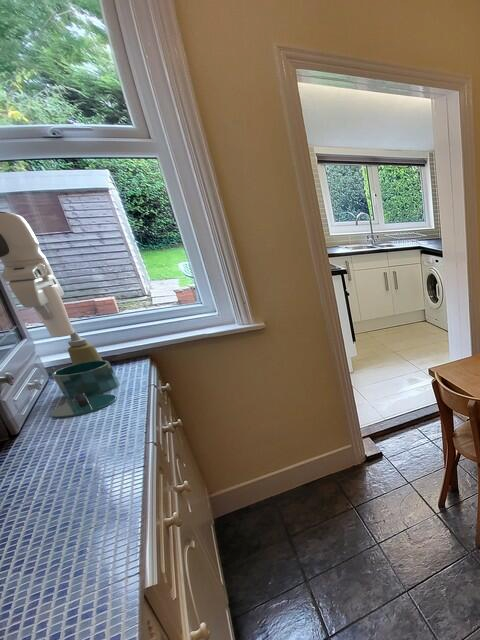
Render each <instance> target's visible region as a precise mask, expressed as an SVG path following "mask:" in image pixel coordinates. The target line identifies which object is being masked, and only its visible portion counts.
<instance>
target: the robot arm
mask: <svg viewBox="0 0 480 640" xmlns="http://www.w3.org/2000/svg"><path fill="white" fill-rule="evenodd" d="M0 261H1V263H2V265H3V271H2V272H1V278H2V279H3V281H4V282H8V286H9V288H10V290H11V291H12V293H13V295H14V296H15V298H16V299H17V301H18V303H19V304H20V305H21V306H22V307H23V308H26V309H31V308H33V307H35V309H36V310H37V311H38V312H39V313H40V314H41V315H42V317H43V319H44V320H49V319H52V318H53V316H52V313H50V312H49V311H48V309H47V306H46V304H47V303H49V302H50V300H49V298H48V296H47V294H46V292H45V290H44V289H42V287H49V285H55V287H56V288H57V290H58V292H59V294H60V296H61V298H63V297H64V296H65V292H64V290H63V288H62V285H61V284H60V282H59V281H58V278H57V277H56V276H55V275H54V274H55V273H54V270H53V268H52V267H51V265H50V263H49V261H48V258H47V256H46V255H45V254H44V253H43V251H42V250H41V248H40V243H39V240H38V238H37V236H36V235H35V233H34V231H33V229H32V228H31V226H30V224H29V223H28V221H26V219H25V218H24V217H23V216H21V215H20V214H17V213H14V212H12V211H10V212H9V211H2V210H0Z"/></svg>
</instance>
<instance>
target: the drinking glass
mask: <svg viewBox="0 0 480 640" xmlns="http://www.w3.org/2000/svg"><path fill="white" fill-rule="evenodd" d="M42 289H44V290H45V292H46V294H47V296H48V298H49V300H50V302H49V303H47V304H46V306H47V309H48V311H49V312H50V313H52V316H53V318H52V319H49V320H44V319H43V317H42V315H41V314H40V313H39V312H38V311H37V310H36V309H35V307H32V308H33V310H34V312H35V313H36V315H37V316H38V319H40V320H41V322H42V324H43V325H44V327H45V328H46V330H47V332H48V333H49V336H50V337H52V338H62V337H67V336H70V335H71V334H73V333H74V330H75V329H74V327H73V324H72V322H71V320H70V317H69V314H68V312H67V309H66V306H65V303H64V301H63V297H61V296H60V294H59V292H58V290H57V288H56V287H55V285H49V287H42Z"/></svg>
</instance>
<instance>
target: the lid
mask: <svg viewBox="0 0 480 640" xmlns="http://www.w3.org/2000/svg"><path fill="white" fill-rule="evenodd" d="M73 396H74V398H75V399H74V400H72V401H69V402H67V403H64V404H62V405H60V406H58V407H55V408H54V409H53V410H51V412H50V416H51V417H52V418H55V419H66V418H72V417H77V416H83V415H86V414H90V413H93V412H97V411H99V410H102V409H104V408H106V407H109V406H110V405H112V404H113V403H114V402H116V401H117V397H116V395H114V394H109V393H108V394H104V393H103V394H98V395H94V396H90V397H86V395H85V393H78V394H75V395H73Z"/></svg>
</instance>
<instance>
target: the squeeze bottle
mask: <svg viewBox="0 0 480 640" xmlns="http://www.w3.org/2000/svg"><path fill="white" fill-rule="evenodd" d="M69 337H70V340H67V344H68V345H69V347H68V348H67V353H68V355H69V357H70V361H71V364H72V365H75V364H79V363H83V362H90V361H99V360H103V358H102V357H101V355H100V353H99V352H98V350H97V349H96V348H95V346H94V344H92V343H89V342H88V340H87V337H81V336H80V335H79V334H78V332H77V331H76V330H75V329H74V333H73V334H71V335H69Z"/></svg>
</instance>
